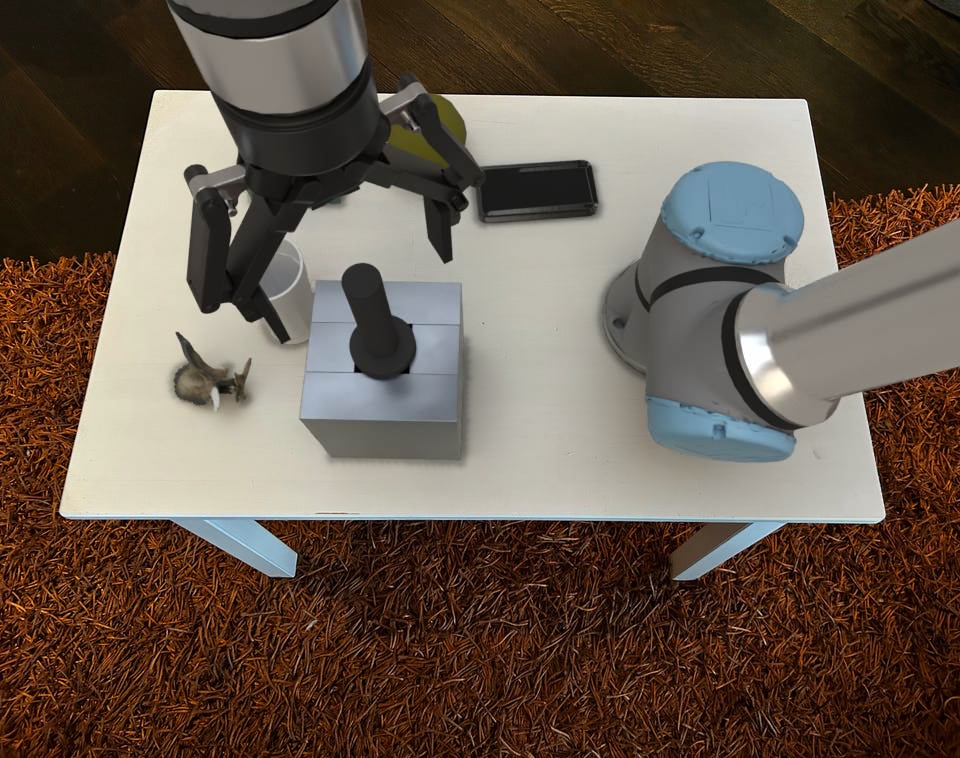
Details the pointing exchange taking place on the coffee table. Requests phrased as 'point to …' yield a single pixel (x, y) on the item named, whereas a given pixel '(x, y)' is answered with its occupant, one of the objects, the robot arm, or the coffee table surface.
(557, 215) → the phone
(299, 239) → the coffee table surface
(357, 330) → the plug
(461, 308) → the square hole box
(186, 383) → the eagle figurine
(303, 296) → the cup
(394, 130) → the apple
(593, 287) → the coffee table surface
